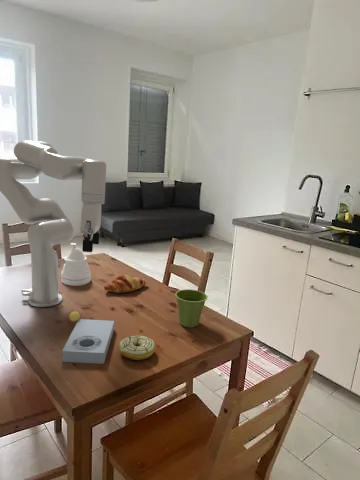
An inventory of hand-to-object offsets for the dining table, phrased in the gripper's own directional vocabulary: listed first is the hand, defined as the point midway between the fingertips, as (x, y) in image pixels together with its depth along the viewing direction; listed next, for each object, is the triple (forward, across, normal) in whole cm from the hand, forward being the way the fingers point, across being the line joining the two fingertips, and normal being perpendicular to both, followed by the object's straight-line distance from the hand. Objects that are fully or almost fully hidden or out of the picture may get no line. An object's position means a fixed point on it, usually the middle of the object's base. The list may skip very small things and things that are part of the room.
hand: (90, 247), depth 121 cm
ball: (+23, +7, -5) cm, 25 cm away
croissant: (+28, -28, +11) cm, 41 cm away
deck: (+27, +17, +5) cm, 32 cm away
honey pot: (+29, -35, -14) cm, 47 cm away
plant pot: (+26, -2, +37) cm, 45 cm away
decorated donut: (+27, +18, +16) cm, 36 cm away
